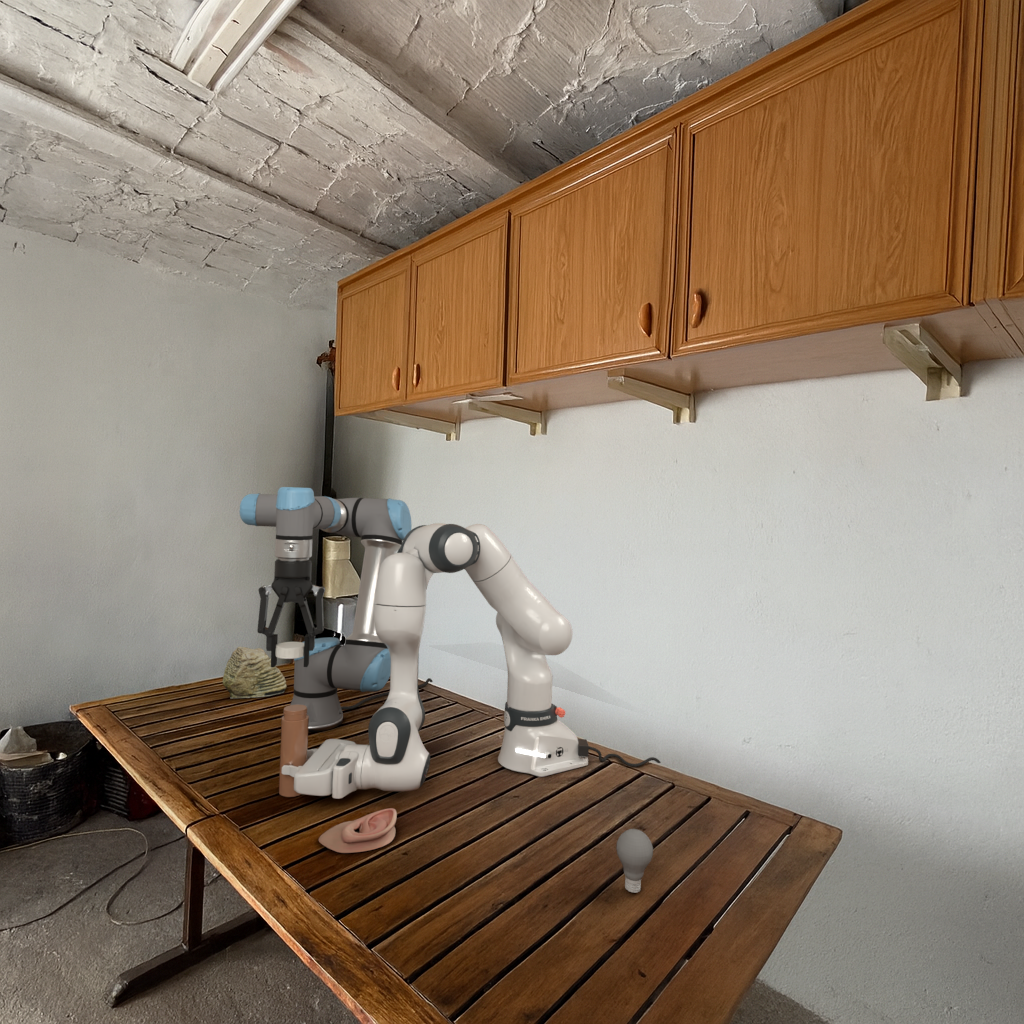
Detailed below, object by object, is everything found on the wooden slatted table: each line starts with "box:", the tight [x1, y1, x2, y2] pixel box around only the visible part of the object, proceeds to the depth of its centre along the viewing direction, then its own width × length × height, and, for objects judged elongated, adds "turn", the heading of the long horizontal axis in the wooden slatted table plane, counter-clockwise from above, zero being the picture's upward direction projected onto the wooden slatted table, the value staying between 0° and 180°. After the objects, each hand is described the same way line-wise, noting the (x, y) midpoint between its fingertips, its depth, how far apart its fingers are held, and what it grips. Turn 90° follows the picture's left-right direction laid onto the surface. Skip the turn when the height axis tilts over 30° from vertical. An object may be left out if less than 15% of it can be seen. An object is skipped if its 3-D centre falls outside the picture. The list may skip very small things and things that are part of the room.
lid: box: [275, 641, 304, 660], centre depth 137 cm, size 6×6×2 cm
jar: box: [278, 704, 309, 798], centre depth 136 cm, size 6×6×18 cm
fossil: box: [222, 646, 288, 699], centre depth 198 cm, size 9×18×15 cm, turn 132°
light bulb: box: [615, 828, 654, 894], centre depth 106 cm, size 6×6×10 cm
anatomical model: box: [318, 807, 398, 854], centre depth 118 cm, size 13×4×12 cm
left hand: (290, 665), depth 137 cm, fingers closed on lid, 6 cm apart
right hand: (289, 762), depth 136 cm, fingers closed on jar, 5 cm apart
